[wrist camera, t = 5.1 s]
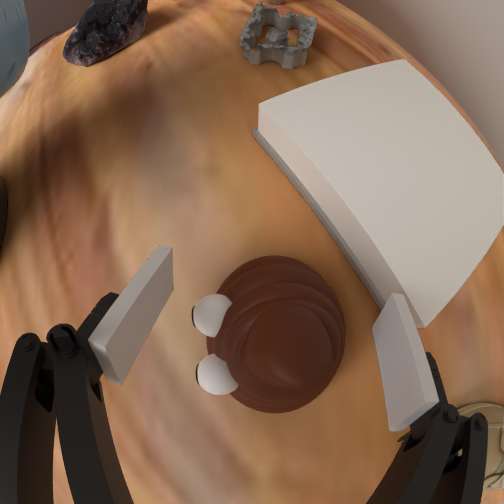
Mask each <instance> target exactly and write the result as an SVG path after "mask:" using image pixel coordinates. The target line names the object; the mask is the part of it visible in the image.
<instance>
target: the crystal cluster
mask: <svg viewBox="0 0 504 504" xmlns="http://www.w3.org/2000/svg"><path fill="white" fill-rule="evenodd" d="M147 2H148V0H94V1H93V2H92V4H91V5H90V6H89V7H88V9H87V10H86V11H85V13H84V14H83V16H82V17H81V19H80V20H79V22H78V23H77V25H76V27H75V29H74V30H73V32H72V33H71V35H70V37H69V38H68V39H67V41H66V44H65V46H64V50H63V57H64V58H65V59H66V61H67V62H69V63H73V64H76V65H78V66H82V65H83V66H89V65H91V64H92V63H94V62H97V61H100V60H102V59H104V58H106V57H108V56H110V55H112V54H114V53H115V52H117V51H119V50H121V49H122V48H124V47H126V46H127V45H128V44H131V43H133V42H135V41H137V40H138V39H139V38H140V37H141V35H142V34H143V33H144V31H145V29H146V22H147V18H148V11H147Z"/></svg>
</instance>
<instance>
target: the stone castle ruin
mask: <svg viewBox="0 0 504 504" xmlns="http://www.w3.org/2000/svg"><path fill="white" fill-rule="evenodd" d="M266 24H270V25H274V26H275V27H271V28H270V29H269V30H268V33H267V35H266V44H263V45H262V44H260V43H258V44H257V46H256V38H258V37H260V36H261V31H262V26H265V25H266ZM316 26H317V18H315V17H308V16H306V15H304V14H302V15H295V14H293V13H292V12H288V15H279V14H278V12H277V9H276V8H275V7H272V6H265V5H262V2H258V4H257V5H256V6H255V7H254V9H253V11H252V14H251V17H250V18H249V19H248V20H247V24H246V25H245V27H244V29H243V30H242V33H241V37H240V43H239V47H240V46H242V49H243V54H242V57H244V58H247V59H248V60H249V61H250V64H254V65H260V64H261V63H262V62H264V61H269V60H271V61H276V62H278V63H280V64H281V66H282V68H284V69H289V70H292V69H293V68H294V67H296V66H305V63H306V57H307V51H308V47H310V45H311V44H312V41H313V35H314V33H315V29H316ZM292 28H297V29H300V33H299V37H298V38H297V47H294V46H288V47H287V41H288V40H289V36H288V33H287V31H286V30H290V29H292ZM278 29H280V30H278ZM282 30H283V31H282Z"/></svg>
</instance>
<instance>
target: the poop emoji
mask: <svg viewBox="0 0 504 504" xmlns="http://www.w3.org/2000/svg"><path fill="white" fill-rule="evenodd" d="M192 322H193V325H194V326H195V327H196V328H197V329H198V330H199V331H200V332H201V333H203V334H204V335H206V337H207V349H208V354H209V355H208V356H206V357H205V358H204V359H202V361H201V362H200V363H199V364H198V365H197V367H196V380H197V383H198V384H199V385H200V386H201V387H202V388H203V389H204V390H206V391H207V392H209V393H211V394H215V395H225V394H230V395H232V396H233V397H234V398H235V399H236V400H238V401H239V402H240V403H242V404H244V405H245V406H247V407H249V408H252V409H254V410H257V411H261V412H266V413H284V412H289V411H293V410H296V409H299V408H301V407H303V406H305V405H307V404H308V403H310V402H311V401H312V400H314V399H315V398H316V397H317V396H318V395H320V394H321V393H322V392H323V390H324V389H325V388H326V387H327V386H328V384H329V383H330V381H331V380H332V378H333V377H334V375H335V373H336V371H337V369H338V367H339V364H340V362H341V359H342V355H343V351H344V344H345V324H344V318H343V313H342V310H341V307H340V304H339V302H338V300H337V298H336V296H335V294H334V293H333V291H332V290H331V288H330V287H329V286H328V285H327V283H326V282H325V281H324V280H323V279H322V277H321V276H320V275H319V274H317V273H316V272H315V271H314V270H313V269H311V268H310V267H309V266H307V265H305V264H304V263H302V262H300V261H297V260H295V259H292V258H288V257H284V256H265V257H260V258H256V259H254V260H251V261H249V262H247V263H245V264H243V265H241V266H240V267H239V268H237V269H236V270H235V271H234V272H232V273H231V274H230V275H229V276H228V277H227V279H226V280H225V281H224V282H223V284H222V285H221V286H220V288H219V290H218V291H217V293H216V294H210V295H207V296H205V297H203V298H201V299H200V300H199V301H198V302H197V303H196V305H195V306H194V307H193V309H192Z"/></svg>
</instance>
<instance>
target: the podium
mask: <svg viewBox="0 0 504 504" xmlns="http://www.w3.org/2000/svg"><path fill="white" fill-rule="evenodd" d="M253 137H254V138H255V139H256V140H257V141H258V142H259V144H260V145H261V146H262V147H263V148H264V150H265V151H266V152H267V153H268V154H269V156H270V157H271V158H272V159H273V160H274V162H275V163H276V164H277V165H278V167H279V168H280V169H281V170H282V172H283V173H284V174H285V175H286V177H287V178H288V179H289V180H290V182H291V183H292V184H293V185H294V187H295V188H296V189H297V191H298V192H299V193H300V195H301V196H302V197H303V198H304V200H305V201H306V202H307V204H308V205H309V206H310V208H311V209H312V210H313V212H314V213H315V214H316V216H317V217H318V218H319V220H320V221H321V223H322V224H323V225H324V227H325V228H326V229H327V231H328V232H329V234H330V235H331V236H332V238H333V239H334V241H335V242H336V244H337V245H338V246H339V248H340V249H341V251H342V252H343V254H344V255H345V257H346V258H347V259H348V261H349V262H350V264H351V265H352V267H353V268H354V270H355V271H356V273H357V274H358V276H359V277H360V279H361V281H362V282H363V284H364V285H365V287H366V288H367V290H368V291H369V293H370V294H371V296H372V298H373V299H374V301H375V302H376V304H377V306H378V307H379V309H380V310H381V311H382V309H383V308H384V306H385V304H386V302H387V301H388V299H389V297H390V295H391V293H392V292H393V293H398V294H403V295H404V297H405V300H406V302H407V304H408V307H409V309H410V312H411V315H412V317H413V320H414V322H415V325H416V328H426V327H427V326H428V325H429V323H430V322H431V321H432V320H433V319H434V318H435V317H436V316H437V315H438V314H439V313H440V311H441V310H442V309H443V308H444V307H445V306H446V305H447V303H448V302H449V301H450V300H451V299H452V298H453V296H454V295H455V294H456V293H457V292H458V290H459V289H460V288H461V287H462V285H463V284H464V283H465V281H466V280H467V279H468V278H469V276H470V275H471V274H472V272H473V271H474V270H475V268H476V267H477V265H478V264H479V263H480V261H481V260H482V258H483V257H484V255H485V254H486V253H487V251H488V250H489V248H490V247H491V245H492V243H493V242H494V240H495V239H496V237H497V236H498V234H499V232H500V231H501V229H502V227H503V226H504V173H503V172H502V170H501V168H500V167H499V165H498V164H497V162H496V161H495V159H494V158H493V156H492V155H491V153H490V152H489V150H488V149H487V148H486V146H485V145H484V143H483V142H482V141H481V139H480V138H479V137H478V135H477V134H476V133H475V131H474V130H473V129H472V128H471V126H470V125H469V124H468V123H467V121H466V120H465V119H464V118H463V117H462V115H461V114H460V113H459V112H458V111H457V110H456V109H455V107H454V106H453V105H452V104H451V103H450V102H449V101H448V100H447V99H446V98H445V97H444V96H443V94H442V93H441V92H440V91H439V90H438V89H437V88H436V87H435V86H434V85H433V84H432V83H431V82H430V81H428V80H427V79H426V78H425V77H424V76H423V75H422V74H421V73H420V72H419V71H418V70H417V69H415V68H414V67H413V66H412V65H411V64H410V63H409V62H407V61H406V60H405V59H400V60H395V61H390V62H385V63H381V64H376V65H372V66H368V67H364V68H360V69H356V70H353V71H349V72H346V73H342V74H339V75H335V76H332V77H329V78H326V79H323V80H319V81H316V82H313V83H311V84H308V85H305V86H302V87H299V88H296V89H294V90H291V91H288V92H286V93H283V94H281V95H278V96H276V97H273V98H271V99H268V100H266V101H263V102H261V103H259V116H258V127H257V128H255V129H253Z"/></svg>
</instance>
